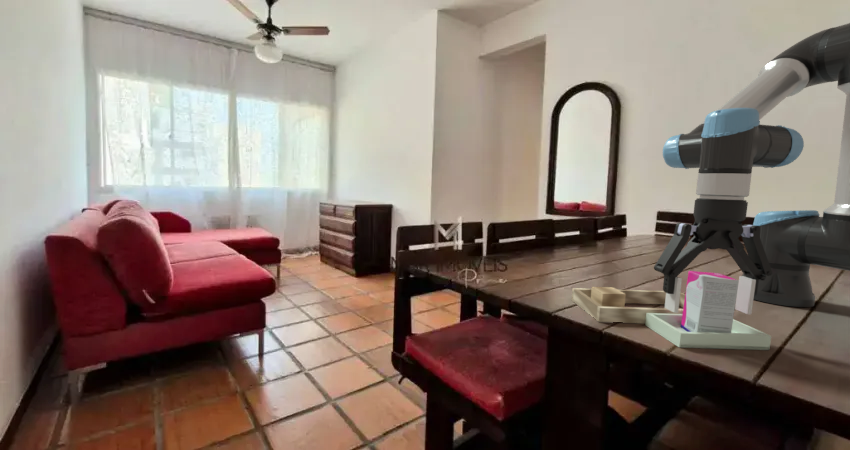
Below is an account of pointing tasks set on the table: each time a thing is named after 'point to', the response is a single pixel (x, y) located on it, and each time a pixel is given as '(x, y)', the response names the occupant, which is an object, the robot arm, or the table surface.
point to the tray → (707, 334)
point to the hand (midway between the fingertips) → (707, 311)
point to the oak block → (608, 296)
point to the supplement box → (709, 302)
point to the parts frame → (624, 313)
